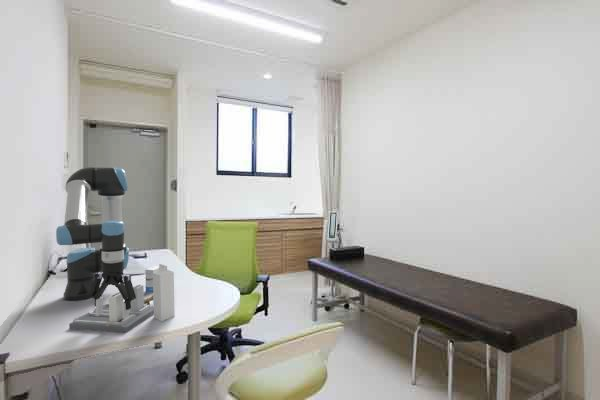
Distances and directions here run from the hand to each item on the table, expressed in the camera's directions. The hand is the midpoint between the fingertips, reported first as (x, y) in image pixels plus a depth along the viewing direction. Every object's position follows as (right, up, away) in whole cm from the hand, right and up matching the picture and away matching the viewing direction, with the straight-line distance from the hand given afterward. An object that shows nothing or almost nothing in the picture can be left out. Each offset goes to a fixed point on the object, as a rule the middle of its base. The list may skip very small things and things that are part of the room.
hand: (112, 316), depth 122 cm
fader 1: (+2, -2, 0) cm, 2 cm away
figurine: (+2, -3, +20) cm, 21 cm away
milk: (+17, -3, +8) cm, 19 cm away
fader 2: (+5, -1, +9) cm, 11 cm away
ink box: (-3, -2, +43) cm, 43 cm away
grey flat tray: (-2, -3, +5) cm, 7 cm away
